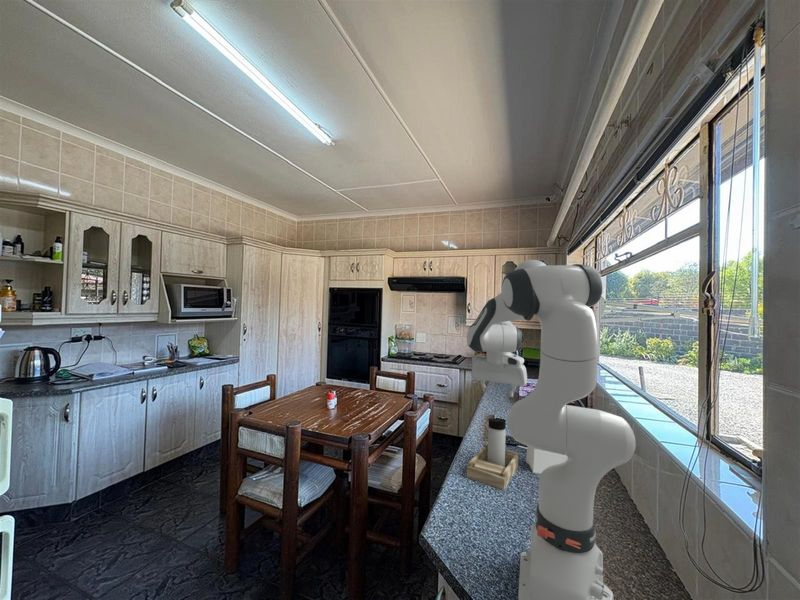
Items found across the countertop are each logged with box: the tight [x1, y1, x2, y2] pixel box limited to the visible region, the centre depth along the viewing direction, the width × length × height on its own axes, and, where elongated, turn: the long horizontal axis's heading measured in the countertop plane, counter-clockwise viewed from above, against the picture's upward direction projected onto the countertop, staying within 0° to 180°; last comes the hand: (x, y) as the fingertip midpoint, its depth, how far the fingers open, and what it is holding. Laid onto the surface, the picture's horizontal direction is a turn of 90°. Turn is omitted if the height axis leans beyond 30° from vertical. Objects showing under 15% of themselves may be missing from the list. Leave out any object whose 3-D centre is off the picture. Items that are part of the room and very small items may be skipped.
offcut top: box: [474, 460, 503, 476], centre depth 111 cm, size 5×9×2 cm, turn 62°
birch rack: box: [466, 443, 519, 491], centre depth 115 cm, size 18×13×7 cm
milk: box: [525, 445, 569, 474], centre depth 120 cm, size 12×12×26 cm
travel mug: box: [487, 417, 507, 467], centre depth 118 cm, size 6×7×20 cm
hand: (497, 394), depth 118 cm, fingers open, 8 cm apart
